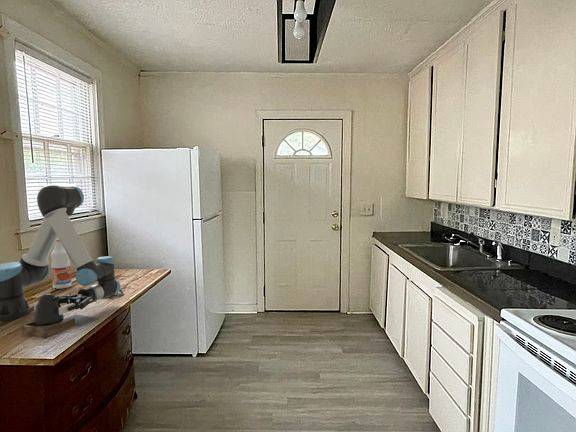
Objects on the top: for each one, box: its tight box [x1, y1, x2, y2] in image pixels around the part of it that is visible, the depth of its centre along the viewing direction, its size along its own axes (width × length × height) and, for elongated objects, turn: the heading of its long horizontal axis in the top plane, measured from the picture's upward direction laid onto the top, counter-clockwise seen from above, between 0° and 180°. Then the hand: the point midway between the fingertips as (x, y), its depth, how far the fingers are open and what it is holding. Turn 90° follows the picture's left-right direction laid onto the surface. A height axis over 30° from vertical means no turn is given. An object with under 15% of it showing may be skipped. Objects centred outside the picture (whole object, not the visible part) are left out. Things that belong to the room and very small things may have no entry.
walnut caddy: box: [20, 318, 76, 339], centre depth 153 cm, size 14×13×4 cm
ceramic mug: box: [108, 288, 124, 298], centre depth 200 cm, size 11×8×8 cm
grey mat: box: [63, 314, 98, 327], centre depth 164 cm, size 13×9×1 cm
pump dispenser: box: [33, 293, 65, 329], centre depth 153 cm, size 10×10×15 cm
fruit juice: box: [50, 238, 73, 290], centre depth 216 cm, size 9×9×28 cm
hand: (46, 309), depth 152 cm, fingers open, 13 cm apart
